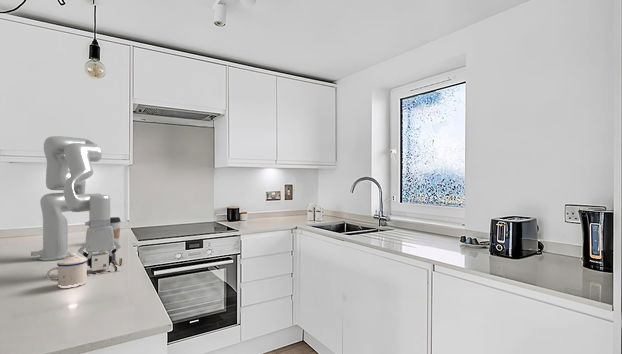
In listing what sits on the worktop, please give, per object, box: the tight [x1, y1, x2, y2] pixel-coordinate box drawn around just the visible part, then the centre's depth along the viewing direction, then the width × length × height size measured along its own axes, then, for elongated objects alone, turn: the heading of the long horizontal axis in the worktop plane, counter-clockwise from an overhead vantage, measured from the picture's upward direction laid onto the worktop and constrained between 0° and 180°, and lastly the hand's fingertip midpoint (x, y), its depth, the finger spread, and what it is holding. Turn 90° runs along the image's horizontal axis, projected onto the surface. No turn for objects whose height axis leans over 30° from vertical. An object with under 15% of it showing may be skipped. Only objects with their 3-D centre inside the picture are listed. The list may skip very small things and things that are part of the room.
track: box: [112, 257, 123, 266], centre depth 143 cm, size 17×19×3 cm
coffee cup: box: [110, 216, 121, 244], centre depth 194 cm, size 8×8×15 cm
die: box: [90, 252, 110, 272], centre depth 140 cm, size 6×6×6 cm
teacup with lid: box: [46, 252, 88, 286], centre depth 121 cm, size 12×9×12 cm
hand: (99, 265), depth 140 cm, fingers closed on die, 5 cm apart
